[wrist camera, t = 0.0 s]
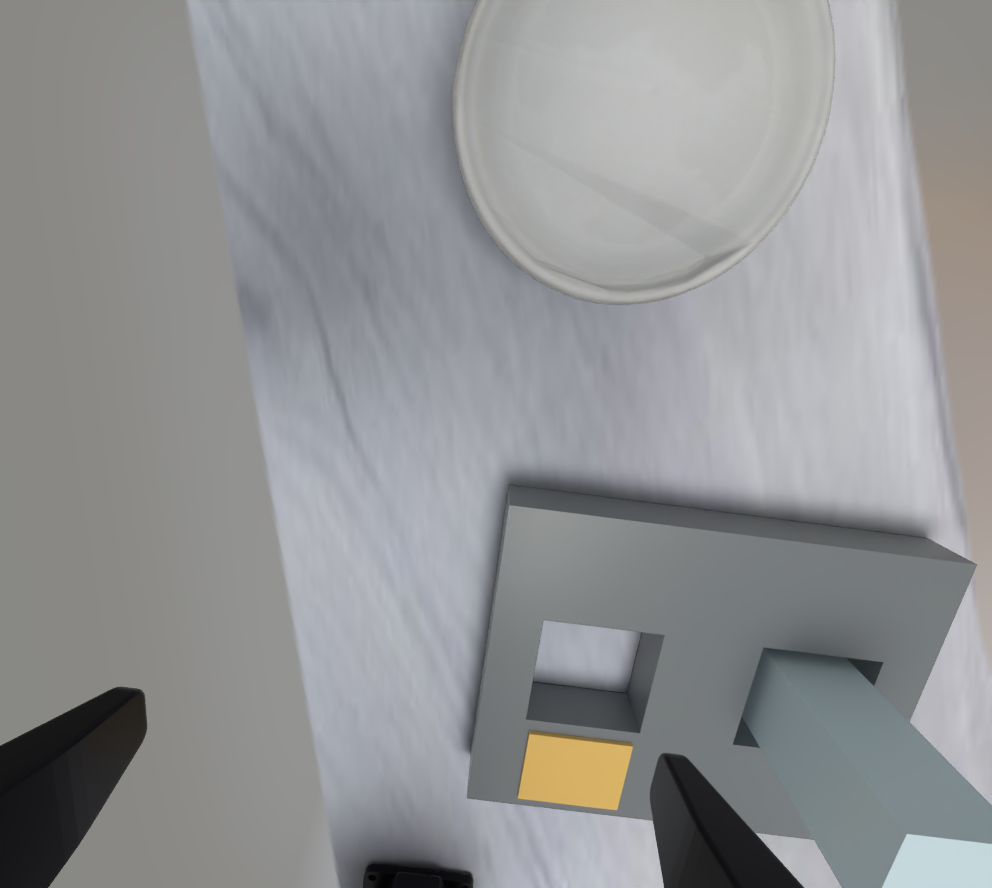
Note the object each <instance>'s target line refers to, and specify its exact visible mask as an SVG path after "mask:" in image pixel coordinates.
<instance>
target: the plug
mask: <svg viewBox="0 0 992 888" xmlns="http://www.w3.org/2000/svg"><path fill="white" fill-rule="evenodd" d="M742 717H743V719H744V721H745V723H746V724H747V726H748V728H749V729H750V731H751V733H752V735H753V736H754V738H755V740H756V741H757V743H758V745H759V747H760V748H761V750H762V752H763V753H764V755H765V757H766V758H767V760H768V762H769V764H770V765H771V767H772V769H773V770H774V772H775V774H776V776H777V777H778V779H779V781H780V782H781V784H782V786H783V788H784V789H785V791H786V793H787V794H788V796H789V798H790V799H791V801H792V803H793V805H794V806H795V808H796V810H797V811H798V813H799V815H800V817H801V818H802V820H803V822H804V823H805V825H806V827H807V829H808V830H809V832H810V834H811V835H812V837H813V839H814V840H815V842H816V844H817V846H818V847H819V849H820V851H821V852H822V854H823V856H824V858H825V859H826V861H827V863H828V864H829V866H830V868H831V870H832V871H833V873H834V875H835V876H836V878H837V880H838V881H839V883H840V885H841V887H842V888H992V805H991V804H990V803H989V802H988V801H987V800H986V799H985V798H984V797H983V796H982V795H981V794H980V793H979V792H978V791H977V790H976V789H975V788H974V787H973V786H972V785H971V784H970V783H969V782H968V781H967V780H966V779H965V778H964V777H963V776H962V775H961V774H960V773H959V772H958V771H957V770H956V769H955V768H954V767H953V766H952V765H951V764H950V763H949V762H948V761H947V760H946V759H945V758H944V757H943V756H942V755H941V754H940V753H939V752H938V751H937V750H936V749H935V748H934V747H933V746H932V745H931V743H930V742H929V741H928V740H927V739H926V738H925V737H924V736H923V735H922V734H921V733H920V732H919V731H918V730H917V729H916V728H915V727H914V726H913V725H912V724H911V723H910V722H909V721H908V720H907V719H906V718H905V717H904V716H903V715H902V714H901V713H900V712H899V711H898V710H897V709H896V708H895V707H894V706H893V705H892V704H891V703H890V702H889V701H888V700H887V699H886V698H885V697H884V696H883V695H882V694H881V693H880V692H879V691H878V690H877V689H876V688H875V687H874V686H873V685H872V684H871V683H870V682H869V681H868V680H867V679H866V678H865V677H864V676H863V675H862V674H861V673H860V672H859V671H858V670H857V669H856V668H855V667H854V666H853V665H852V664H851V663H850V662H849V661H848V660H847V658H845V657H837V656H829V655H821V654H813V653H805V652H797V651H789V650H781V649H773V648H765V647H764V648H763V651H762V654H761V657H760V660H759V663H758V666H757V670H756V673H755V676H754V679H753V682H752V685H751V688H750V692H749V695H748V698H747V701H746V704H745V707H744V710H743V714H742Z"/></svg>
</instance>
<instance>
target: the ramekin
mask: <svg viewBox="0 0 992 888" xmlns="http://www.w3.org/2000/svg"><path fill="white" fill-rule="evenodd" d="M834 78H835V38H834V27H833V23H832V16H831V11H830V5H829V2H828V0H477V2H476V4H475V7H474V9H473V11H472V14H471V16H470V19H469V21H468V24H467V26H466V30H465V35H464V38H463V41H462V45H461V48H460V52H459V57H458V62H457V66H456V72H455V77H454V82H453V131H454V141H455V146H456V152H457V158H458V163H459V167H460V171H461V174H462V178H463V181H464V184H465V187H466V190H467V192H468V195H469V198H470V200H471V202H472V204H473V207H474V209H475V211H476V213H477V215H478V217H479V219H480V220H481V222H482V224H483V226H484V227H485V229H486V230H487V232H488V233H489V235H490V236H491V238H492V239H493V240H494V242H495V243H496V244H497V245H498V247H499V248H500V249H501V250H502V251H503V252H504V253H505V254H506V255H507V256H508V257H509V258H510V259H511V260H512V261H513V262H514V263H515V264H516V265H517V266H518V267H519V268H521V269H522V270H523V271H524V272H526V273H527V274H528V275H530V276H531V277H533V278H534V279H536V280H537V281H539V282H541V283H542V284H544V285H546V286H548V287H550V288H552V289H554V290H556V291H558V292H560V293H563V294H565V295H568V296H570V297H573V298H576V299H579V300H583V301H588V302H593V303H600V304H610V305H626V304H639V303H648V302H654V301H659V300H663V299H667V298H670V297H674V296H677V295H680V294H682V293H685V292H688V291H690V290H693V289H695V288H697V287H699V286H701V285H703V284H706V283H708V282H710V281H711V280H713V279H715V278H717V277H718V276H720V275H721V274H723V273H725V272H726V271H728V270H729V269H730V268H732V267H733V266H735V265H736V264H737V263H739V262H740V261H741V260H742V259H743V258H745V257H746V256H747V255H748V254H749V253H751V252H752V251H753V250H754V249H755V248H756V247H757V246H758V245H759V244H760V243H761V242H762V241H763V240H764V239H765V238H766V237H767V236H768V234H769V233H770V232H771V231H772V230H773V229H774V228H775V226H776V225H777V224H778V222H779V221H780V220H781V219H782V217H783V216H784V215H785V213H786V212H787V211H788V209H789V208H790V206H791V205H792V203H793V202H794V200H795V199H796V197H797V196H798V194H799V192H800V191H801V189H802V187H803V185H804V183H805V181H806V179H807V177H808V175H809V173H810V171H811V169H812V167H813V165H814V162H815V160H816V157H817V155H818V152H819V149H820V146H821V144H822V140H823V137H824V135H825V131H826V127H827V124H828V120H829V115H830V110H831V103H832V96H833V88H834Z"/></svg>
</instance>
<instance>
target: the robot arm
mask: <svg viewBox="0 0 992 888" xmlns="http://www.w3.org/2000/svg"><path fill="white" fill-rule="evenodd" d="M146 731H147V717H146V704H145V694H144V692H143V691H142V690H140V689H136V688H128V687H116V688H113V689H111V690H109V691H107V692H105V693H103V694H101V695H99V696H97V697H95V698H93V699H91V700H89V701H87V702H85V703H83V704H81V705H79V706H77V707H76V708H74V709H71V710H70V711H68V712H66V713H64V714H62V715H60V716H58V717H56V718H54V719H52V720H50V721H48V722H46V723H44V724H42V725H40V726H38V727H36V728H34V729H33V730H30V731H28V732H26V733H24V734H22V735H20V736H18V737H17V738H15V739H13V740H11V741H9V742H7V743H5V744H3V745H1V746H0V888H48V887H49V886H50V884H51V883H52V882H53V880H54V879H55V877H56V876H57V875H58V873H59V872H60V871H61V869H62V868H63V866H64V865H65V864H66V862H67V861H68V859H69V858H70V857H71V855H72V854H73V852H74V851H75V850H76V848H77V847H78V845H79V844H80V842H81V841H82V839H83V838H84V836H85V835H86V833H87V831H88V830H89V828H90V827H91V825H92V824H93V822H94V820H95V819H96V817H97V815H98V814H99V812H100V811H101V809H102V807H103V806H104V804H105V802H106V801H107V799H108V798H109V796H110V794H111V793H112V791H113V789H114V788H115V786H116V784H117V783H118V781H119V780H120V778H121V776H122V775H123V773H124V772H125V770H126V768H127V767H128V765H129V763H130V762H131V760H132V759H133V757H134V755H135V754H136V752H137V750H138V749H139V747H140V746H141V744H142V742H143V740H144V737H145V734H146ZM650 806H651V812H652V818H653V824H654V830H655V836H656V842H657V847H658V853H659V859H660V865H661V871H662V877H663V883H664V888H804V887H803V886H802V885H801V884H800V883H799V882H798V880H797V879H796V878H795V877H794V876H793V875H792V874H791V873H790V872H789V870H788V869H787V868H786V867H785V866H784V865H783V864H782V863H781V861H780V860H779V859H778V858H777V857H776V856H775V855H774V854H773V853H772V851H771V850H770V849H769V848H768V847H767V846H766V845H765V844H764V843H763V841H762V840H761V839H760V838H759V837H758V836H757V835H756V834H755V833H754V831H753V830H752V829H751V828H750V827H749V826H748V825H747V824H746V822H745V821H744V820H743V819H742V818H741V817H740V816H739V815H738V814H737V812H736V811H735V810H734V809H733V808H732V807H731V806H730V805H729V804H728V802H727V801H726V800H725V799H724V798H723V797H722V796H721V795H720V794H719V792H718V791H717V790H716V789H715V788H714V787H713V786H712V785H711V783H710V782H709V781H708V780H707V779H706V778H705V777H704V776H703V775H702V773H701V772H700V771H699V770H698V769H697V768H696V767H695V766H694V765H693V763H692V762H691V761H690V760H689V759H688V758H687V757H685V756H684V755H680V754H672V753H662V754H661V755H660V756H659V758H658V761H657V765H656V768H655V772H654V776H653V779H652V783H651V787H650ZM363 888H473V878H472V877H470V876H468V875H463V874H454V873H446V872H437V871H429V870H420V869H412V868H403V867H395V866H386V865H378V864H371V865H368V866H367V867H366V870H365V874H364V882H363Z"/></svg>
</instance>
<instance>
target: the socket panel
mask: <svg viewBox="0 0 992 888" xmlns="http://www.w3.org/2000/svg"><path fill="white" fill-rule="evenodd" d="M976 566H977V564H975V563H973V562H971V561H969V560H967V559H966V558H964V557H962V556H960V555H958V554H956V553H954V552H952V551H951V550H949V549H947V548H945V547H943V546H941V545H939V544H937V543H936V542H934V541H932V540H930V539H928V538H921V537H914V536H906V535H898V534H890V533H882V532H874V531H867V530H859V529H851V528H843V527H835V526H828V525H820V524H812V523H804V522H796V521H788V520H781V519H773V518H765V517H757V516H749V515H741V514H734V513H726V512H718V511H710V510H702V509H694V508H687V507H679V506H671V505H663V504H655V503H648V502H640V501H632V500H624V499H616V498H608V497H601V496H593V495H585V494H577V493H569V492H561V491H554V490H546V489H538V488H530V487H522V486H514V485H509V488H508V495H507V502H506V509H505V516H504V523H503V530H502V537H501V544H500V551H499V558H498V565H497V572H496V579H495V586H494V593H493V600H492V607H491V614H490V621H489V628H488V635H487V642H486V649H485V656H484V663H483V670H482V677H481V684H480V691H479V698H478V705H477V712H476V719H475V727H474V734H473V741H472V748H471V755H470V767H469V779H468V791H467V798H468V799H477V800H485V801H493V802H502V803H510V804H519V805H527V806H535V807H544V808H552V809H560V810H569V811H577V812H586V813H594V814H602V815H611V816H619V817H627V818H636V819H644V820H652V821H653V818H652V812H651V806H650V787H651V783H652V779H653V776H654V772H655V768H656V765H657V761H658V758H659V756H660V755H661V754H662V753H672V754H680V755H684V756H685V757H687V758H688V759H689V760H690V761H691V762H692V763H693V765H694V766H695V767H696V768H697V769H698V770H699V771H700V772H701V773H702V775H703V776H704V777H705V778H706V779H707V780H708V781H709V782H710V783H711V785H712V786H713V787H714V788H715V789H716V790H717V791H718V792H719V794H720V795H721V796H722V797H723V798H724V799H725V800H726V801H727V802H728V804H729V805H730V806H731V807H732V808H733V809H734V810H735V811H736V812H737V814H738V815H739V816H740V817H741V818H742V819H743V820H744V821H745V822H746V824H747V825H748V826H749V827H750V828H751V829H752V830H753V831H754V833H761V834H770V835H778V836H786V837H795V838H803V839H811V840H814V839H813V837H812V835H811V834H810V832H809V830H808V829H807V827H806V825H805V823H804V822H803V820H802V818H801V817H800V815H799V813H798V811H797V810H796V808H795V806H794V805H793V803H792V801H791V799H790V798H789V796H788V794H787V793H786V791H785V789H784V788H783V786H782V784H781V782H780V781H779V779H778V777H777V776H776V774H775V772H774V770H773V769H772V767H771V765H770V764H769V762H768V760H767V758H766V757H765V755H764V753H763V752H762V750H761V748H760V747H759V745H758V743H757V741H756V740H755V738H754V736H753V735H752V733H751V731H750V729H749V728H748V726H747V724H746V723H745V721H744V719H743V717H742V714H743V710H744V707H745V704H746V701H747V698H748V695H749V692H750V688H751V685H752V682H753V679H754V676H755V673H756V670H757V666H758V663H759V660H760V657H761V654H762V651H763V648H764V647H765V648H773V649H781V650H789V651H797V652H805V653H813V654H821V655H829V656H837V657H845V658H847V660H848V661H849V662H850V663H851V664H852V665H853V666H854V667H855V668H856V669H857V670H858V671H859V672H860V673H861V674H862V675H863V676H864V677H865V678H866V679H867V680H868V681H869V682H870V683H871V684H872V685H873V686H874V687H875V688H876V689H877V690H878V691H879V692H880V693H881V694H882V695H883V696H884V697H885V698H886V699H887V700H888V701H889V702H890V703H891V704H892V705H893V706H894V707H895V708H896V709H897V710H898V711H899V712H900V713H901V714H902V715H903V716H904V717H905V718H906V719H907V720H908V721H909V722H910V719H911V717H912V715H913V712H914V710H915V708H916V705H917V703H918V701H919V698H920V696H921V694H922V691H923V689H924V687H925V685H926V682H927V680H928V678H929V675H930V673H931V671H932V668H933V666H934V664H935V661H936V659H937V657H938V654H939V652H940V650H941V647H942V645H943V643H944V640H945V638H946V636H947V634H948V631H949V629H950V627H951V624H952V622H953V620H954V617H955V615H956V613H957V610H958V608H959V606H960V603H961V601H962V599H963V596H964V594H965V592H966V589H967V587H968V585H969V583H970V580H971V578H972V576H973V573H974V571H975V569H976ZM543 620H548V621H556V622H564V623H572V624H580V625H588V626H596V627H604V628H612V629H620V630H628V631H636V632H642V634H641V638H640V643H639V647H638V651H637V655H636V659H635V664H634V668H633V672H632V676H631V680H630V684H629V689H628V693H627V694H625V693H617V692H609V691H601V690H593V689H585V688H576V687H568V686H560V685H552V684H544V683H536V682H533V676H534V671H535V665H536V659H537V654H538V648H539V642H540V637H541V631H542V625H543Z"/></svg>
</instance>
